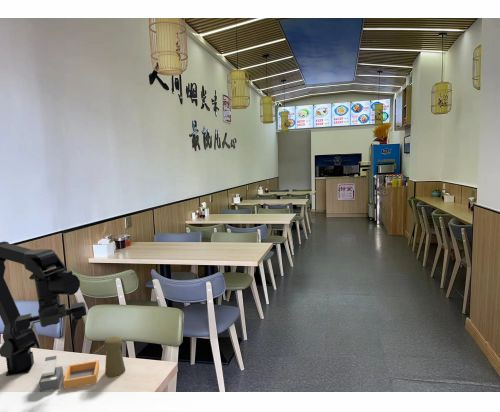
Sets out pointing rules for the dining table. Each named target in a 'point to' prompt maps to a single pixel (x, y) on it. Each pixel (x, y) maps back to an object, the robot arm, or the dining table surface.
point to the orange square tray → (81, 374)
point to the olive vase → (114, 357)
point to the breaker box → (51, 380)
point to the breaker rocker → (49, 365)
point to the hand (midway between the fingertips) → (56, 343)
